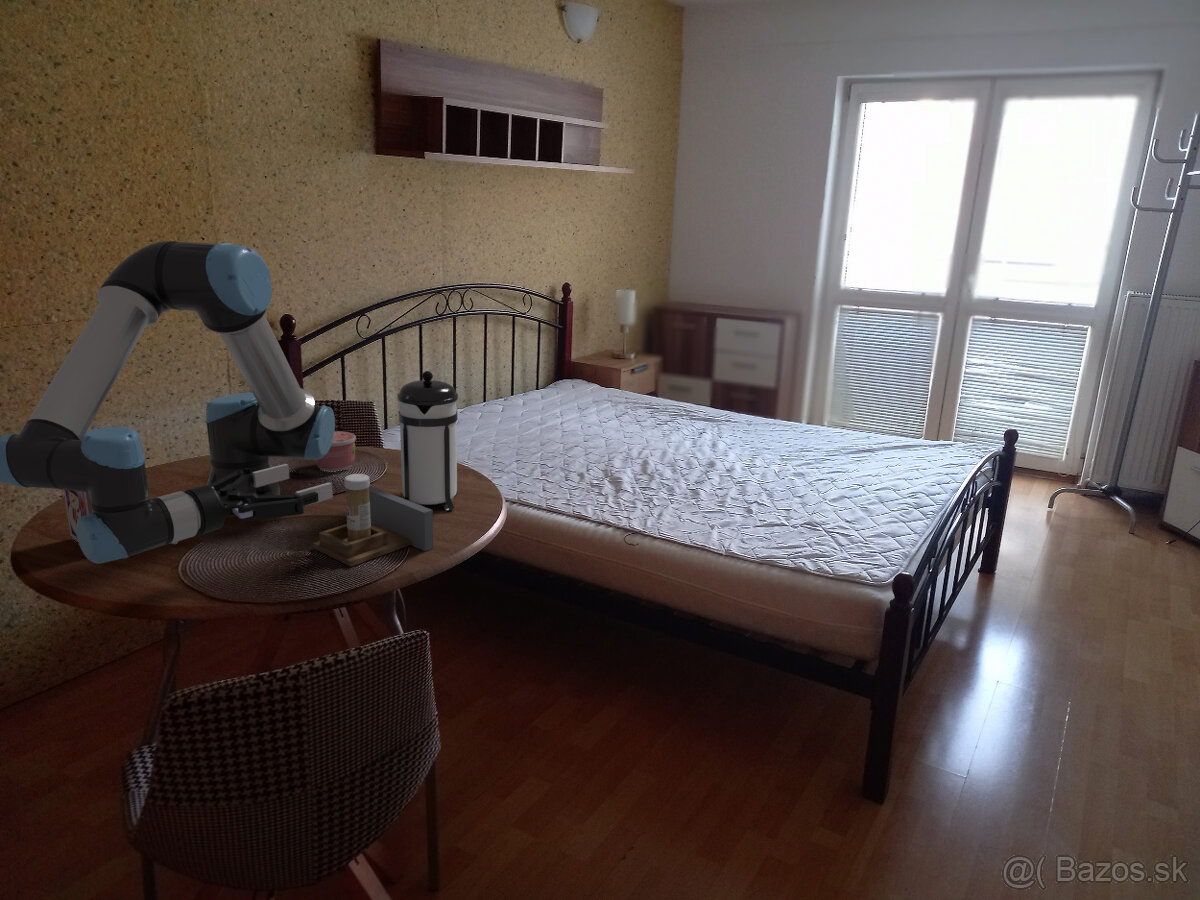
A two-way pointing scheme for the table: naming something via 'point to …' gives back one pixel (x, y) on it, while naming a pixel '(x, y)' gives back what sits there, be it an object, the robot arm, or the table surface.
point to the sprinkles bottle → (357, 506)
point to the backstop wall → (402, 517)
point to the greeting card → (76, 508)
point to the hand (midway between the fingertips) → (309, 480)
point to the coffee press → (428, 441)
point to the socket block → (359, 544)
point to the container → (339, 452)
